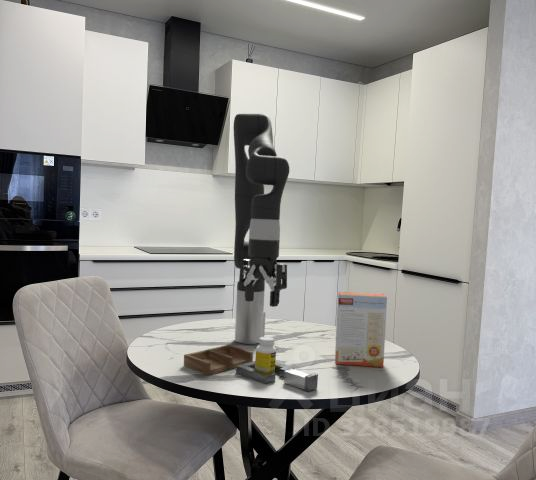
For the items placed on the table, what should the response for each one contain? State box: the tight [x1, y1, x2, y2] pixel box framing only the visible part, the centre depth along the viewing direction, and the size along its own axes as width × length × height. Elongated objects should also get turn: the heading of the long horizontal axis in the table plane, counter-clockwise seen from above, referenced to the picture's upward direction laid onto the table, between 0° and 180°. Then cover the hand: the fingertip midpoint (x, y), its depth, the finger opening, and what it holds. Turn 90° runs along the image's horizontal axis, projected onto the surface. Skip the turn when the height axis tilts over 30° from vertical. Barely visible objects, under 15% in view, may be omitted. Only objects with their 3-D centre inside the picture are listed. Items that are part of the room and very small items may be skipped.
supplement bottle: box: [254, 336, 277, 374], centre depth 135 cm, size 5×5×10 cm
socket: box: [235, 360, 295, 385], centre depth 135 cm, size 11×11×2 cm
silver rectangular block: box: [283, 368, 319, 392], centre depth 127 cm, size 4×8×4 cm, turn 48°
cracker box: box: [334, 291, 388, 368], centre depth 149 cm, size 14×6×21 cm, turn 84°
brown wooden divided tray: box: [183, 344, 254, 376], centre depth 142 cm, size 17×10×3 cm, turn 137°
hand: (261, 303), depth 124 cm, fingers open, 8 cm apart
